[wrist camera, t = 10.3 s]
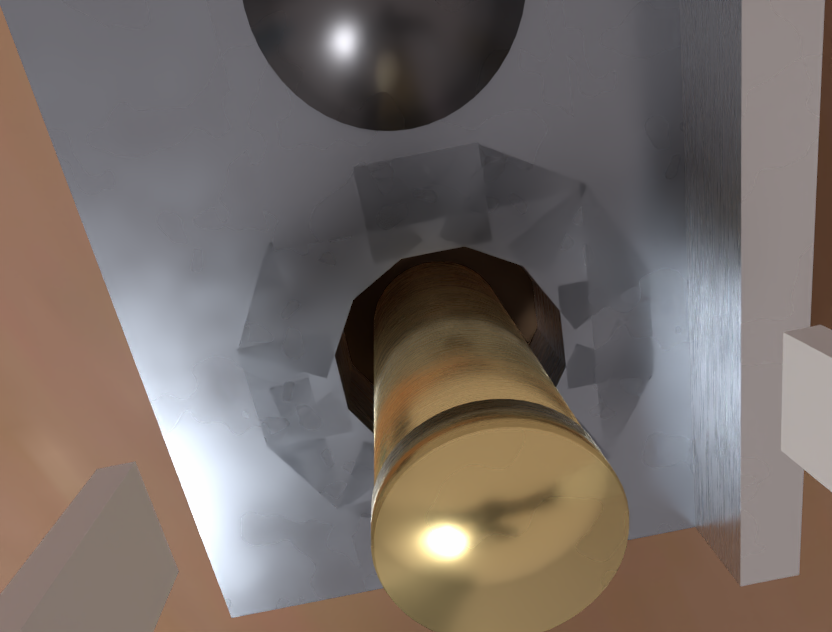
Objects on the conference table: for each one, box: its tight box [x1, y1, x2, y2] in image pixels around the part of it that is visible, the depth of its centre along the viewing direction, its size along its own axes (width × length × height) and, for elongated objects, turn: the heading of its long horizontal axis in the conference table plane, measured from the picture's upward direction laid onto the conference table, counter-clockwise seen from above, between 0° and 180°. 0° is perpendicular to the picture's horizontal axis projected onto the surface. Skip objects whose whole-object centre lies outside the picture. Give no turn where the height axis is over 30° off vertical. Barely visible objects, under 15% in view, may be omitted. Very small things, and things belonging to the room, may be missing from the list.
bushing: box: [371, 262, 629, 632], centre depth 14 cm, size 4×4×10 cm
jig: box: [0, 0, 825, 618], centre depth 15 cm, size 16×22×5 cm
